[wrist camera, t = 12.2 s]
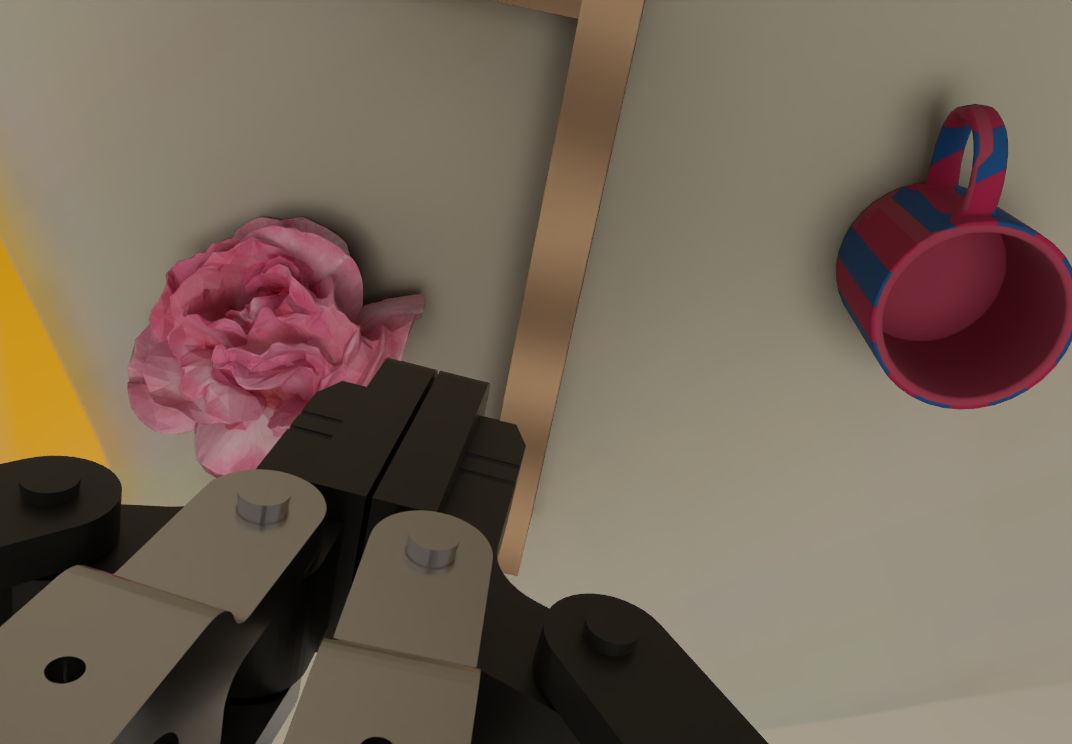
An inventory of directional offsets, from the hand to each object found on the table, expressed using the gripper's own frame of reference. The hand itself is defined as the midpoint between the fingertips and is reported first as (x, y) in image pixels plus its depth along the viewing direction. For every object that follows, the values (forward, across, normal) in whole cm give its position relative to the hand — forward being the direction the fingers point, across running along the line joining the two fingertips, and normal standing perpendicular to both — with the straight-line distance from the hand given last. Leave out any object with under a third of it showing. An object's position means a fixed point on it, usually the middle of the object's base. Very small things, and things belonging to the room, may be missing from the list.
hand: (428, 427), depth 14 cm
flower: (+27, +10, +11) cm, 30 cm away
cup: (+27, -15, 0) cm, 31 cm away
